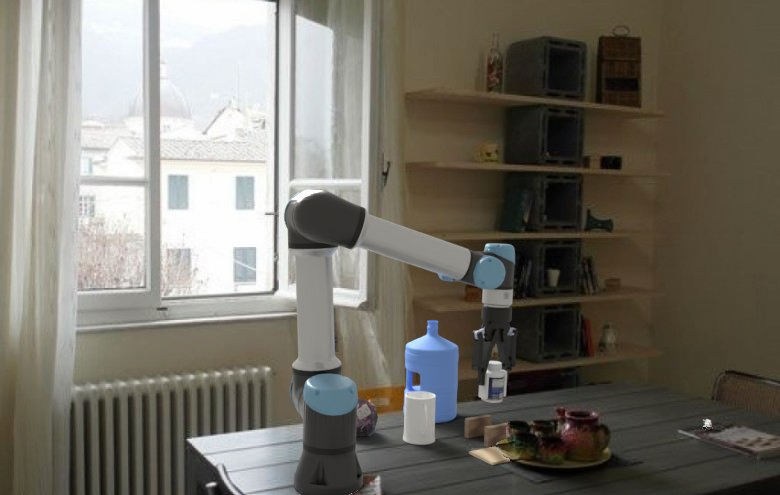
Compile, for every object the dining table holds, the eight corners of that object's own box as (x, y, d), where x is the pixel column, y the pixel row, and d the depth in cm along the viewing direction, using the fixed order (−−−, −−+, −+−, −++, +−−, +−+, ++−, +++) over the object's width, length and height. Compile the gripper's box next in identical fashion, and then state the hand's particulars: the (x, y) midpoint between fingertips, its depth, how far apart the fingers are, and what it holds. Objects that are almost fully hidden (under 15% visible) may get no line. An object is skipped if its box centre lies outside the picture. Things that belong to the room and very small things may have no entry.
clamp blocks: (487, 447, 196) (488, 428, 196) (464, 436, 205) (464, 418, 204) (514, 442, 201) (515, 423, 201) (490, 431, 210) (491, 413, 209)
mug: (440, 449, 194) (442, 402, 193) (407, 449, 193) (408, 402, 192) (431, 434, 206) (433, 390, 205) (400, 434, 205) (401, 390, 204)
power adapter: (713, 431, 217) (714, 420, 217) (706, 432, 216) (707, 421, 216) (705, 428, 220) (706, 417, 220) (698, 429, 219) (699, 418, 219)
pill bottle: (477, 398, 194) (479, 360, 194) (496, 397, 196) (498, 359, 195) (487, 403, 189) (489, 364, 189) (506, 402, 191) (508, 364, 190)
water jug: (457, 410, 230) (461, 318, 228) (455, 425, 214) (458, 327, 212) (406, 406, 232) (409, 315, 230) (399, 421, 216) (402, 324, 214)
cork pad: (492, 465, 183) (492, 462, 183) (468, 453, 191) (468, 451, 191) (520, 459, 188) (520, 456, 188) (496, 448, 196) (496, 446, 196)
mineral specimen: (334, 432, 199) (338, 394, 202) (344, 437, 208) (348, 400, 212) (370, 435, 197) (374, 396, 200) (379, 439, 206) (382, 402, 209)
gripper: (479, 309, 183) (474, 404, 184) (534, 305, 193) (529, 396, 195) (459, 304, 189) (454, 397, 190) (513, 301, 199) (508, 389, 201)
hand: (492, 396), depth 192 cm, fingers closed on pill bottle, 5 cm apart
